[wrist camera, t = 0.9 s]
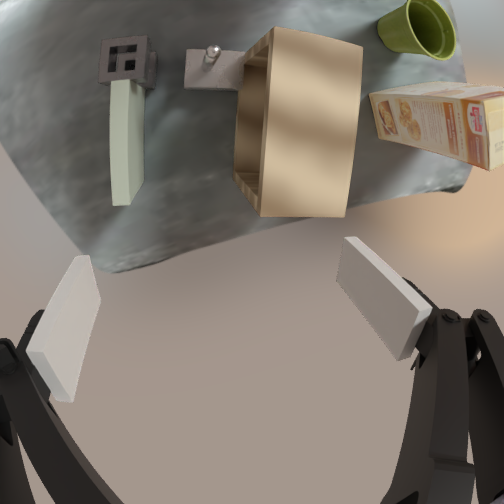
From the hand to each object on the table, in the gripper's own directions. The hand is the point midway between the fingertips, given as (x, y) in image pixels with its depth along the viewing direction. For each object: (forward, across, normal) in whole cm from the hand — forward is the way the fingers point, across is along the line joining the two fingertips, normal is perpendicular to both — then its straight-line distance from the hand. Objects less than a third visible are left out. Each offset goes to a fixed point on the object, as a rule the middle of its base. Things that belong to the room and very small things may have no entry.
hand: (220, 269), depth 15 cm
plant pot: (+24, +26, +22) cm, 42 cm away
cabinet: (+23, +5, +7) cm, 24 cm away
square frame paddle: (+23, -7, +7) cm, 25 cm away
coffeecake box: (+23, +30, +11) cm, 39 cm away
